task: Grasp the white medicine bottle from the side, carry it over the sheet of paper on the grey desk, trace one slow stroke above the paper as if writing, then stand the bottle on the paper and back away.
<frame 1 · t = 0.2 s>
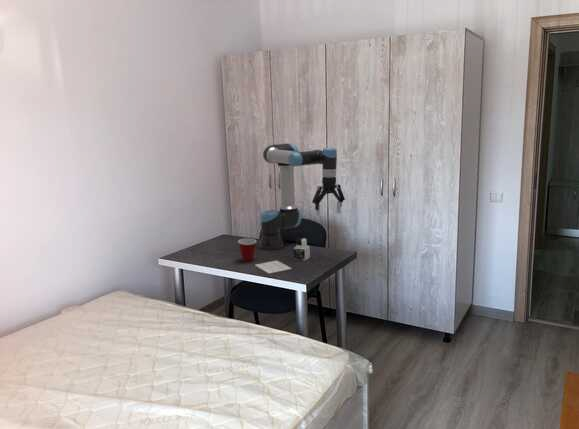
hand: (328, 214, 264), 27 cm above the table, tool pointing down, fingers open, 13 cm apart
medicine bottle: (302, 258, 277), on the table
paper: (273, 267, 264), on the table
plastic cup: (248, 260, 278), on the table
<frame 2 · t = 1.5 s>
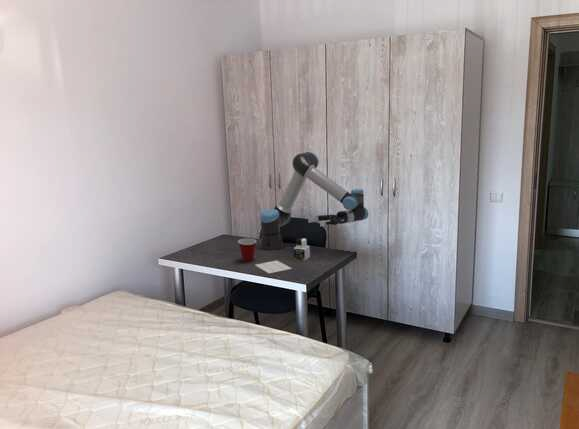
hand: (314, 222, 277), 20 cm above the table, tool horizontal, fingers open, 13 cm apart
nothing on the table moved.
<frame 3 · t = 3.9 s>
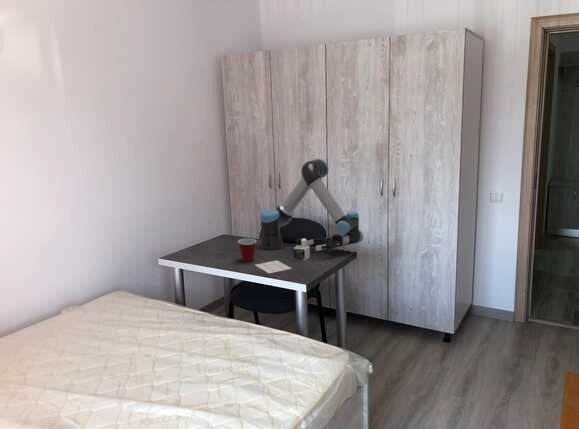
hand: (309, 246, 277), 7 cm above the table, tool horizontal, fingers open, 13 cm apart
nothing on the table moved.
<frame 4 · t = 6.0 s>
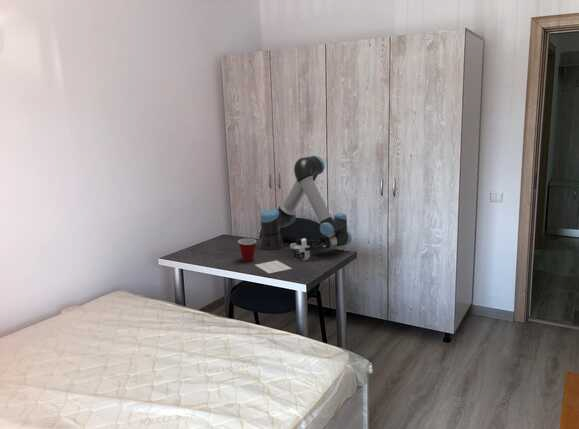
hand: (295, 248, 273), 7 cm above the table, tool horizontal, fingers closed on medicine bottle, 10 cm apart
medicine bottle: (302, 258, 277), on the table, touching gripper
everything else where it was.
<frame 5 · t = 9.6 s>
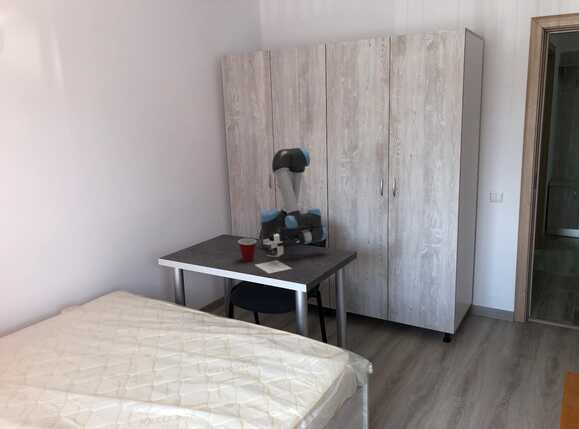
hand: (267, 244, 265), 12 cm above the table, tool horizontal, fingers closed on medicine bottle, 10 cm apart
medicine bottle: (275, 255, 268), point 5 cm above the table, touching gripper
everything else where it was.
when the fingers open (8 cm above the table, at t = 13.1 s): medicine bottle stays where it is, resting on paper.
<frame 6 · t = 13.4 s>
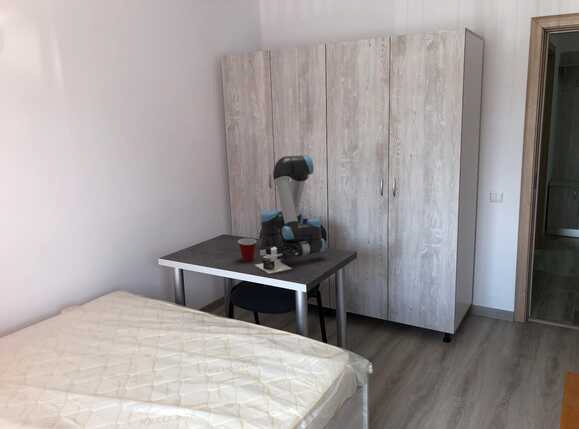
hand: (265, 255, 257), 8 cm above the table, tool horizontal, fingers open, 12 cm apart
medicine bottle: (272, 268, 260), resting on paper
everything else where it was.
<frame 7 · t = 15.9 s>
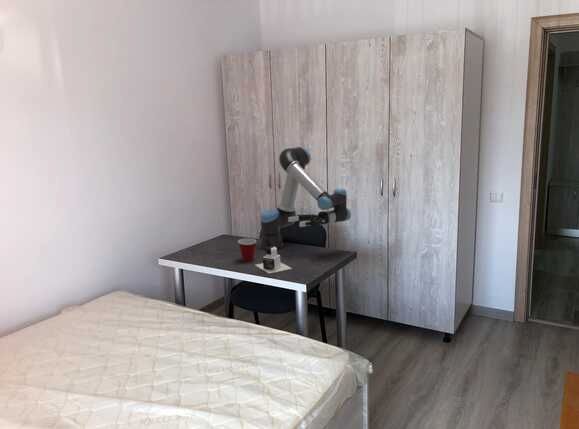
hand: (294, 222, 269), 23 cm above the table, tool horizontal, fingers open, 13 cm apart
nothing on the table moved.
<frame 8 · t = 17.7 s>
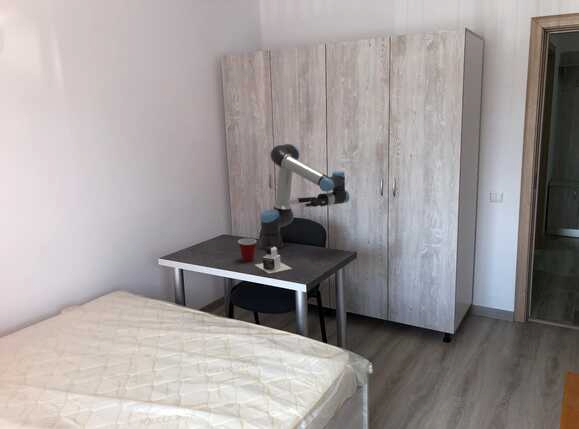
hand: (294, 203, 273), 32 cm above the table, tool horizontal, fingers open, 13 cm apart
nothing on the table moved.
at the end: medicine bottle inside the target area (3.6 cm from its centre), resting on paper; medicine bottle tilted 0°; the gripper is holding nothing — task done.
